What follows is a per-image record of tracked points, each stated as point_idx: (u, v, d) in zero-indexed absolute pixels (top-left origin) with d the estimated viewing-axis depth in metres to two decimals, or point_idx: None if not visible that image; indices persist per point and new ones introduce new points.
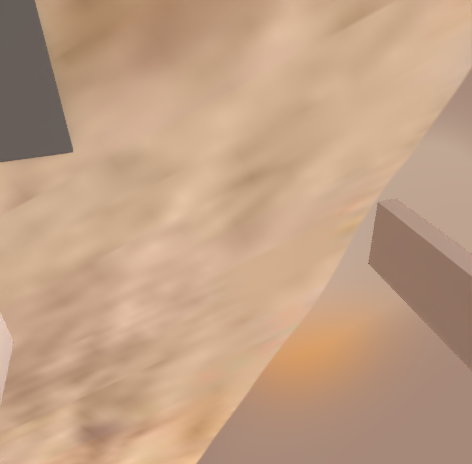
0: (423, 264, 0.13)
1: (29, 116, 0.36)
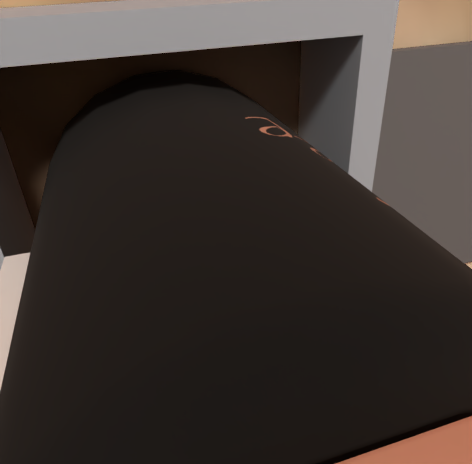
0: None
1: None
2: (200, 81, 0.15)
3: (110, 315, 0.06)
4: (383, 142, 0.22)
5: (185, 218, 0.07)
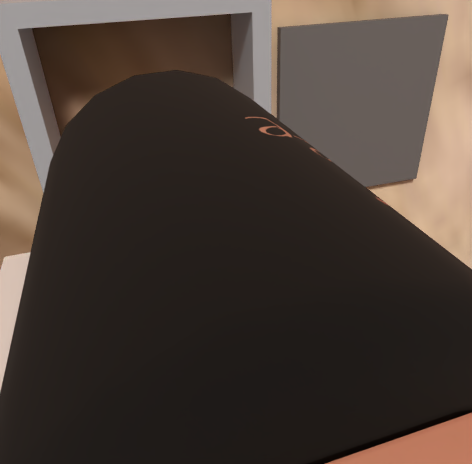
0: None
1: (403, 54, 0.34)
2: (200, 81, 0.16)
3: (110, 314, 0.06)
4: (292, 89, 0.33)
5: (184, 217, 0.07)
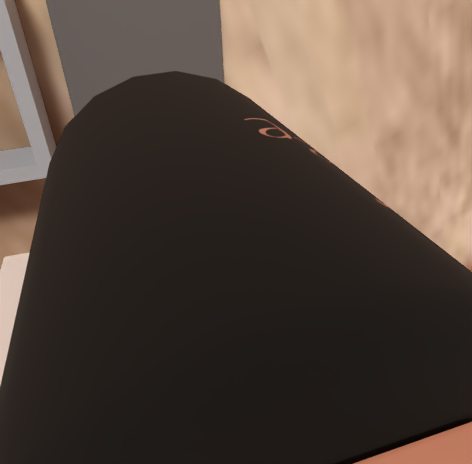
0: None
1: (181, 26, 0.37)
2: (199, 82, 0.15)
3: (108, 318, 0.06)
4: (73, 58, 0.36)
5: (183, 220, 0.07)
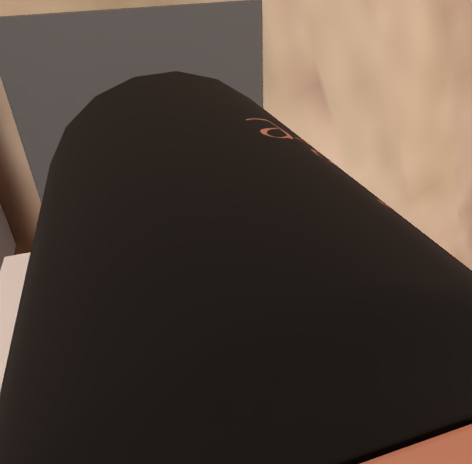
0: None
1: (202, 57, 0.24)
2: (200, 82, 0.15)
3: (111, 319, 0.06)
4: (33, 109, 0.23)
5: (185, 221, 0.07)
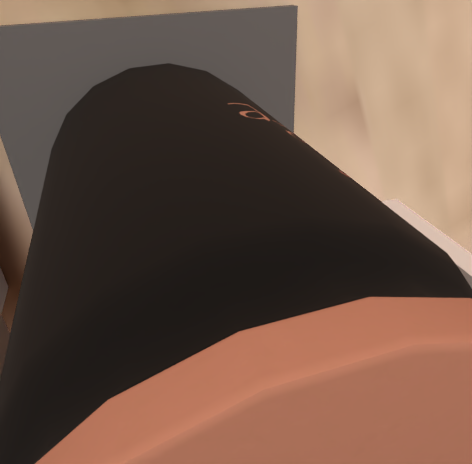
0: None
1: (226, 73, 0.20)
2: (190, 73, 0.17)
3: (103, 249, 0.07)
4: (26, 135, 0.19)
5: (167, 178, 0.08)
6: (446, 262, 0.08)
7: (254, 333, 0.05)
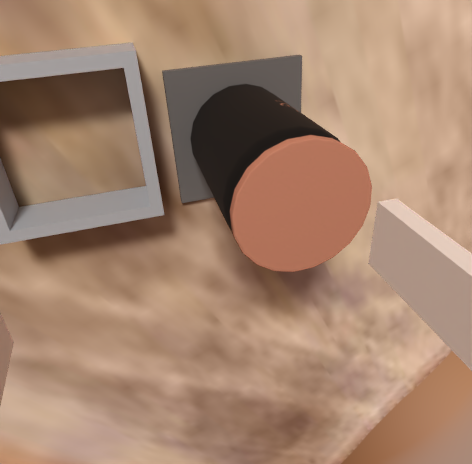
0: (423, 264, 0.13)
1: (268, 87, 0.43)
2: (256, 88, 0.40)
3: (253, 135, 0.30)
4: (180, 116, 0.42)
5: (264, 120, 0.31)
6: (335, 138, 0.31)
7: (289, 139, 0.28)
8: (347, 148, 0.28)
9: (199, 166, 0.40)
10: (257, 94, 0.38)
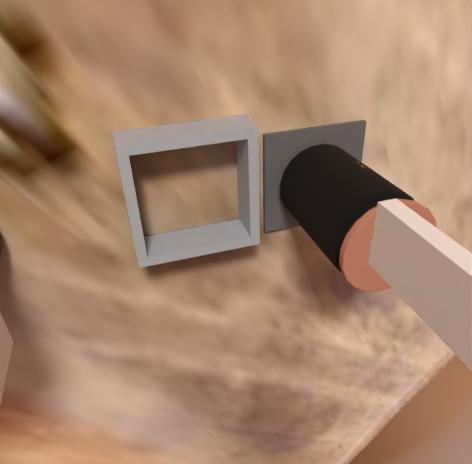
0: (424, 264, 0.13)
1: (339, 144, 0.56)
2: (335, 148, 0.52)
3: (354, 195, 0.43)
4: (272, 167, 0.55)
5: (359, 183, 0.44)
6: (411, 198, 0.43)
7: None
8: (424, 208, 0.41)
9: (291, 208, 0.52)
10: (341, 156, 0.50)
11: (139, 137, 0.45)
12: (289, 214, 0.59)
